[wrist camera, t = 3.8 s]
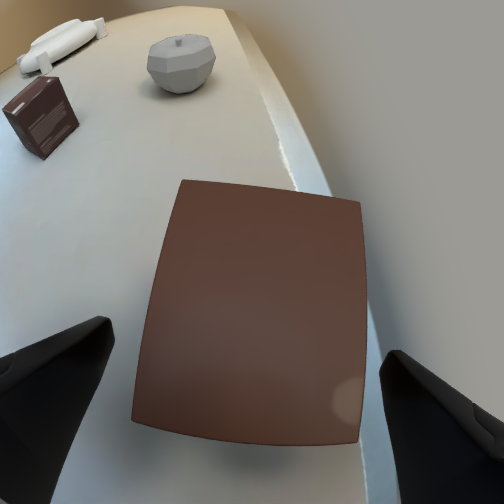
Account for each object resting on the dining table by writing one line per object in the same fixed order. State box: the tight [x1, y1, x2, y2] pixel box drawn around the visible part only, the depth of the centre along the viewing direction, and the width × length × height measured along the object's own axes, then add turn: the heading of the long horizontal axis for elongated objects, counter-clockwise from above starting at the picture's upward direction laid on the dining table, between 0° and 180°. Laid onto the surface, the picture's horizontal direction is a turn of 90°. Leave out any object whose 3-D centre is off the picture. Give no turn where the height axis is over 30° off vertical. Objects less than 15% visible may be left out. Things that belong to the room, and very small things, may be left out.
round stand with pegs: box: [16, 18, 107, 75], centre depth 33 cm, size 24×24×7 cm
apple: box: [147, 34, 216, 94], centre depth 24 cm, size 8×8×7 cm
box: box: [2, 76, 79, 159], centre depth 20 cm, size 6×6×7 cm
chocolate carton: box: [131, 180, 367, 446], centre depth 10 cm, size 5×4×12 cm
